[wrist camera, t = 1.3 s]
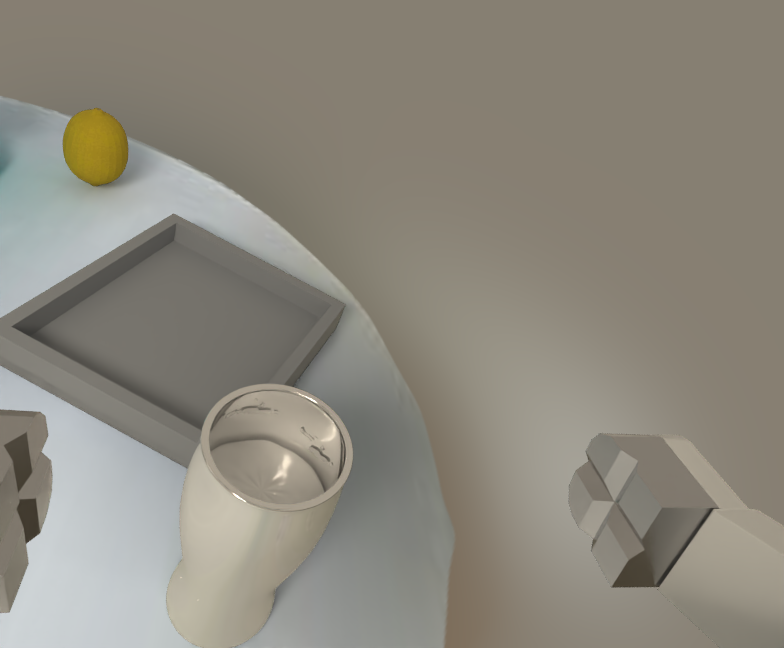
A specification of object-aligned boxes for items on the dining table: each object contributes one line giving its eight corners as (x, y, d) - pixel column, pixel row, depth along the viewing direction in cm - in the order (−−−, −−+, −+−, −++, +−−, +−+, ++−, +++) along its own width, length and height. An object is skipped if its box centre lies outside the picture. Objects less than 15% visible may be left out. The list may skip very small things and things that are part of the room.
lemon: (108, 208, 56) (113, 131, 51) (50, 186, 55) (49, 106, 51) (135, 183, 60) (142, 111, 56) (81, 163, 60) (84, 88, 55)
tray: (-12, 358, 40) (-15, 327, 38) (169, 239, 56) (173, 213, 54) (218, 485, 39) (226, 459, 37) (336, 327, 55) (345, 304, 53)
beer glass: (209, 517, 37) (258, 356, 28) (301, 578, 37) (382, 432, 27) (128, 613, 32) (157, 451, 23) (235, 686, 31) (309, 549, 22)
